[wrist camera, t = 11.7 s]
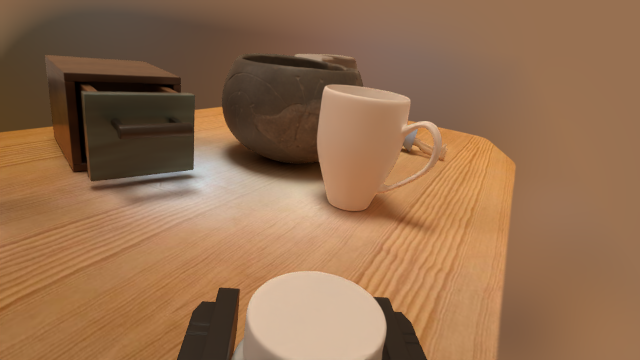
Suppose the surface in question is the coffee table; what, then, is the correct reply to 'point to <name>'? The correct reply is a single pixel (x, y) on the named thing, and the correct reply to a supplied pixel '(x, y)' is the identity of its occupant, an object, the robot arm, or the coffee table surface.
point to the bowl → (280, 103)
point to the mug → (364, 143)
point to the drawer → (134, 129)
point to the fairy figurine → (422, 145)
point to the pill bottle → (312, 320)
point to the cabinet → (90, 70)
